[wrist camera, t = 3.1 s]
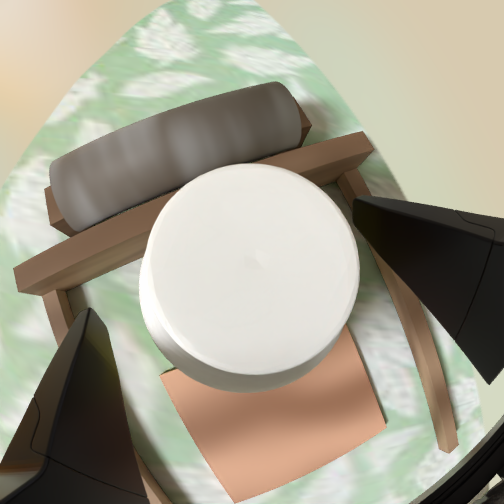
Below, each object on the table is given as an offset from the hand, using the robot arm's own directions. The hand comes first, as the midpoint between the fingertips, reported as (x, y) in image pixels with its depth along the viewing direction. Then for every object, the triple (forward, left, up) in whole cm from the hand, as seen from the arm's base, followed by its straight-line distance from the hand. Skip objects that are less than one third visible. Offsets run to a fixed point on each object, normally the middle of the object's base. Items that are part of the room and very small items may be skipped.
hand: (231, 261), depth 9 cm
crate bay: (-4, +4, -7) cm, 9 cm away
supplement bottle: (-1, +1, -7) cm, 7 cm away
